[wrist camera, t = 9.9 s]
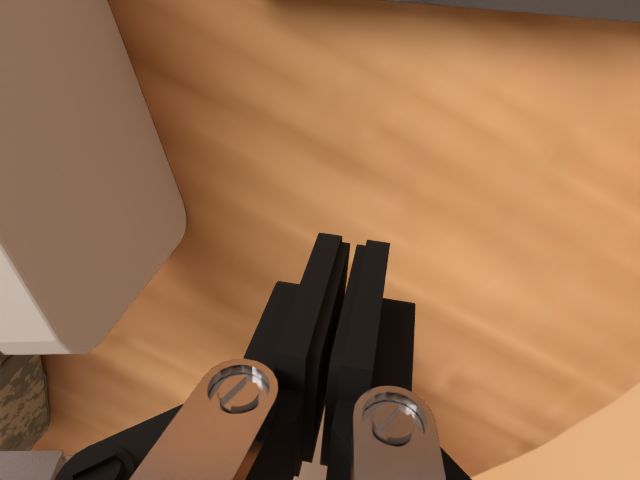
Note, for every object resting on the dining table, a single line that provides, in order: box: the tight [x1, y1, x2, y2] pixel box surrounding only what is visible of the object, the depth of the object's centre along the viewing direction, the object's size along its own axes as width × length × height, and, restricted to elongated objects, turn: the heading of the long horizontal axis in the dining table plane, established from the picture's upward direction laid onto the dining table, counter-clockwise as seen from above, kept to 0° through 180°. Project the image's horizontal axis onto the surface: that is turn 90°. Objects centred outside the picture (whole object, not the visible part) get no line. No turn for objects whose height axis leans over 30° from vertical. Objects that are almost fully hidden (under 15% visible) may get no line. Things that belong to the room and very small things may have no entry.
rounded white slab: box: [0, 0, 186, 355], centre depth 33 cm, size 29×8×18 cm, turn 12°
